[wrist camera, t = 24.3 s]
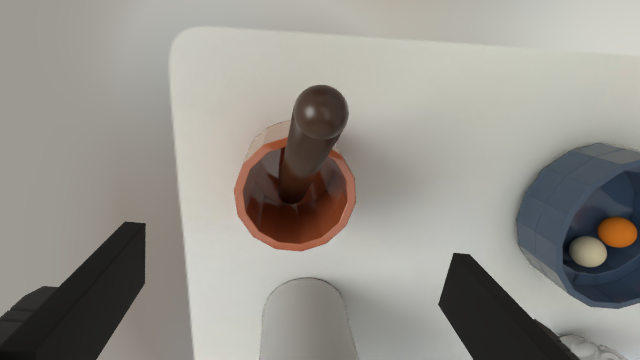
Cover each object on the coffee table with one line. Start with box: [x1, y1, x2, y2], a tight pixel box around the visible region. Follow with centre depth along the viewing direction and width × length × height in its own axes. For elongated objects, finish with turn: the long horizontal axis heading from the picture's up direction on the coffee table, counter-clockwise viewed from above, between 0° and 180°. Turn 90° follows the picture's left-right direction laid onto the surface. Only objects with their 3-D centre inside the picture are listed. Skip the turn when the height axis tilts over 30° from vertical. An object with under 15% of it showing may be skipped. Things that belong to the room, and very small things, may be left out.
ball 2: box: [598, 217, 637, 248], centre depth 35 cm, size 3×3×3 cm
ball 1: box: [569, 236, 607, 267], centre depth 35 cm, size 3×3×3 cm
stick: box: [277, 85, 349, 204], centre depth 23 cm, size 2×2×18 cm
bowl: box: [516, 143, 640, 309], centre depth 33 cm, size 14×14×6 cm
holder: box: [234, 121, 356, 251], centre depth 28 cm, size 8×8×8 cm
